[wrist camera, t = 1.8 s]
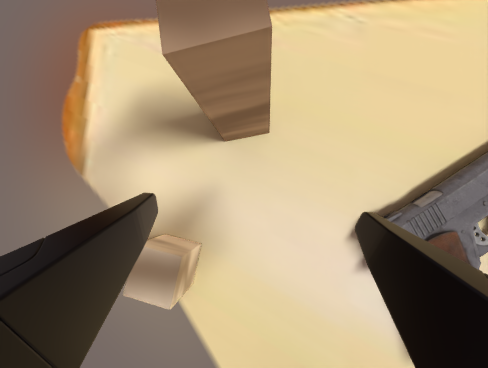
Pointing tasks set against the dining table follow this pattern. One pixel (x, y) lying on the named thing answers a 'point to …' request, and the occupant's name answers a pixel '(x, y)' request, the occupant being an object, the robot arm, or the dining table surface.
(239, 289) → the dining table surface
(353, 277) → the dining table surface
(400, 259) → the robot arm
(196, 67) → the walnut block
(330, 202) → the dining table surface
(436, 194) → the handgun
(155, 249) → the maple block
